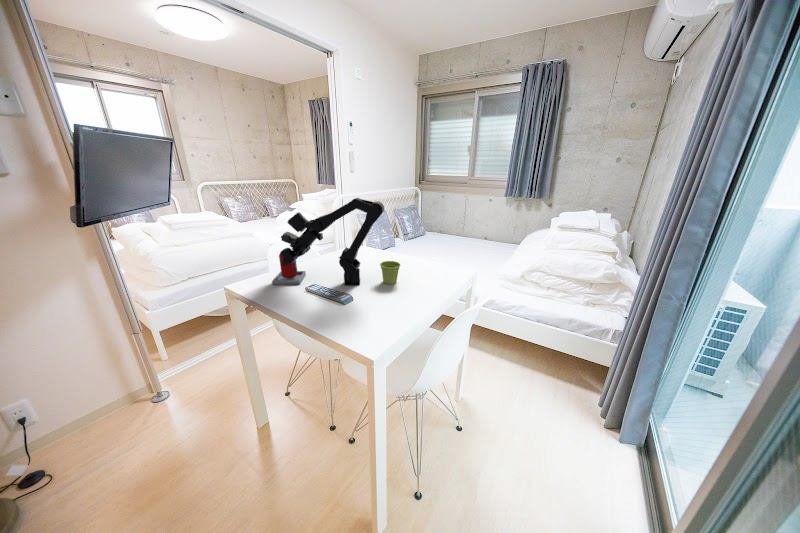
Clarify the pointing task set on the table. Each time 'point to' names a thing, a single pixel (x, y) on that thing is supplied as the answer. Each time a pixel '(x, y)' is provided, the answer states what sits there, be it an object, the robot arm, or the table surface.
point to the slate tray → (289, 279)
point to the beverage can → (288, 269)
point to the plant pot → (390, 271)
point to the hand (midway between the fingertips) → (285, 262)
